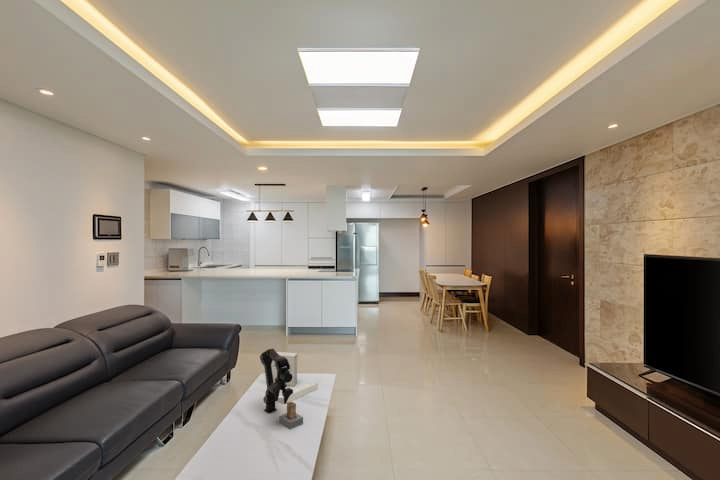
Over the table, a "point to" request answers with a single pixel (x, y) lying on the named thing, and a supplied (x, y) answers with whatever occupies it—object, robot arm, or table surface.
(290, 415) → the brown wooden block
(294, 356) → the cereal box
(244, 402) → the table surface
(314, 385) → the decorative molding
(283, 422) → the grey block with slot
